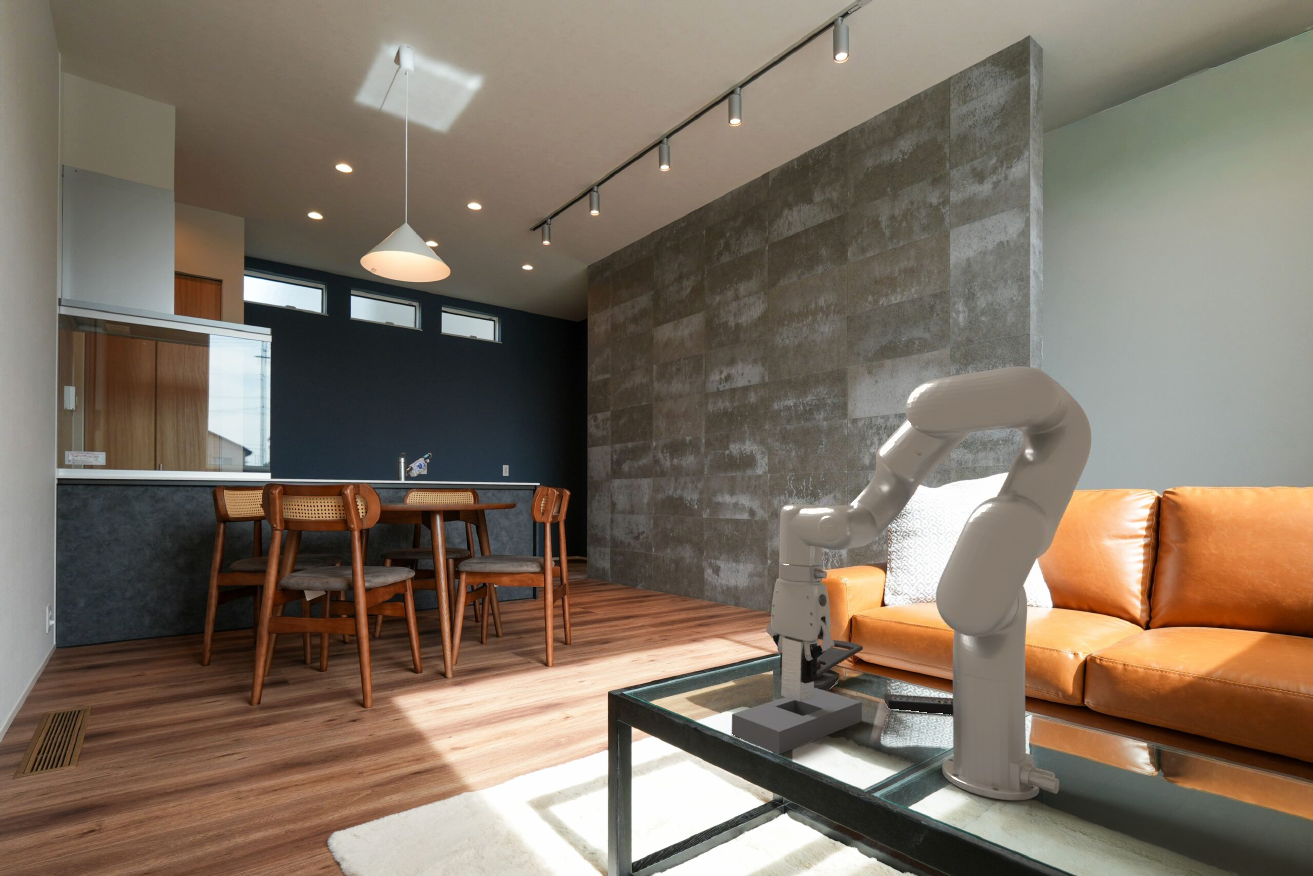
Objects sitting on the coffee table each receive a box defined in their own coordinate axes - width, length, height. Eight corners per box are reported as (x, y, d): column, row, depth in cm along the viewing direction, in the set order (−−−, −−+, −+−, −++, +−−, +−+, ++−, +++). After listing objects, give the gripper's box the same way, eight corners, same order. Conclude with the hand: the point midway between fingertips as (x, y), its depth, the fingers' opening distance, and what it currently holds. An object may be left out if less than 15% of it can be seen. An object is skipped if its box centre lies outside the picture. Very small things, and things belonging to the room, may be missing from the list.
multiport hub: (883, 705, 129) (883, 693, 129) (960, 710, 127) (960, 698, 127) (888, 713, 124) (888, 700, 125) (968, 718, 122) (968, 706, 123)
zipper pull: (866, 645, 150) (814, 665, 131) (866, 674, 149) (814, 699, 130) (830, 638, 155) (775, 657, 137) (830, 666, 155) (775, 689, 136)
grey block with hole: (861, 721, 118) (861, 701, 118) (779, 754, 102) (779, 731, 103) (815, 706, 126) (815, 687, 126) (731, 735, 110) (732, 714, 110)
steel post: (813, 697, 115) (814, 639, 115) (799, 701, 112) (801, 642, 113) (795, 691, 118) (796, 635, 118) (781, 695, 115) (782, 637, 116)
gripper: (853, 578, 112) (851, 687, 111) (776, 566, 125) (773, 664, 124) (828, 582, 107) (826, 695, 106) (750, 569, 120) (747, 670, 119)
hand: (797, 677), depth 115 cm, fingers closed on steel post, 4 cm apart
